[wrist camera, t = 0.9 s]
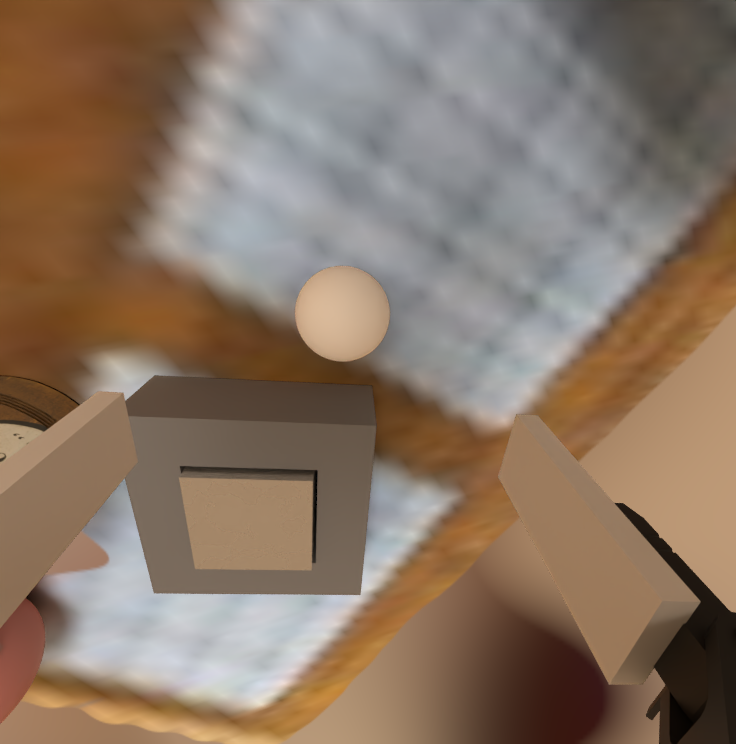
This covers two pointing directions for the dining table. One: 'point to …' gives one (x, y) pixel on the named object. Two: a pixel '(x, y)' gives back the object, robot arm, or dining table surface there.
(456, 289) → the dining table surface
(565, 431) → the dining table surface
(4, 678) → the balloon
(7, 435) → the wooden container
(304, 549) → the tan square tile
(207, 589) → the socket block
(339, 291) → the lightbulb
